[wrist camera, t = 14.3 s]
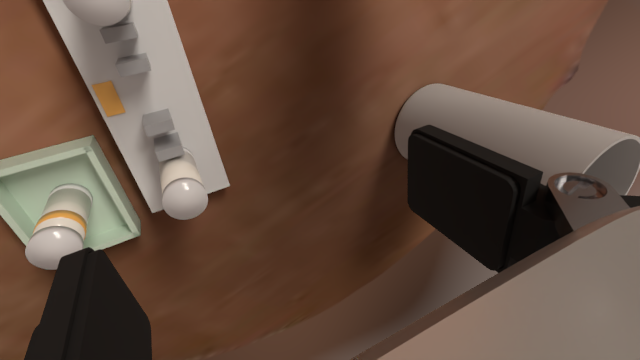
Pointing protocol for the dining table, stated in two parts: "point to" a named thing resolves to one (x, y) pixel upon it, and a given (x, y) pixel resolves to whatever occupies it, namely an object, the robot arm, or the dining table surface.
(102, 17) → the cylinder
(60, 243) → the fuse marked
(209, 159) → the holder
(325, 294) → the dining table surface
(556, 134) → the cylinder vase
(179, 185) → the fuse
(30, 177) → the tray
